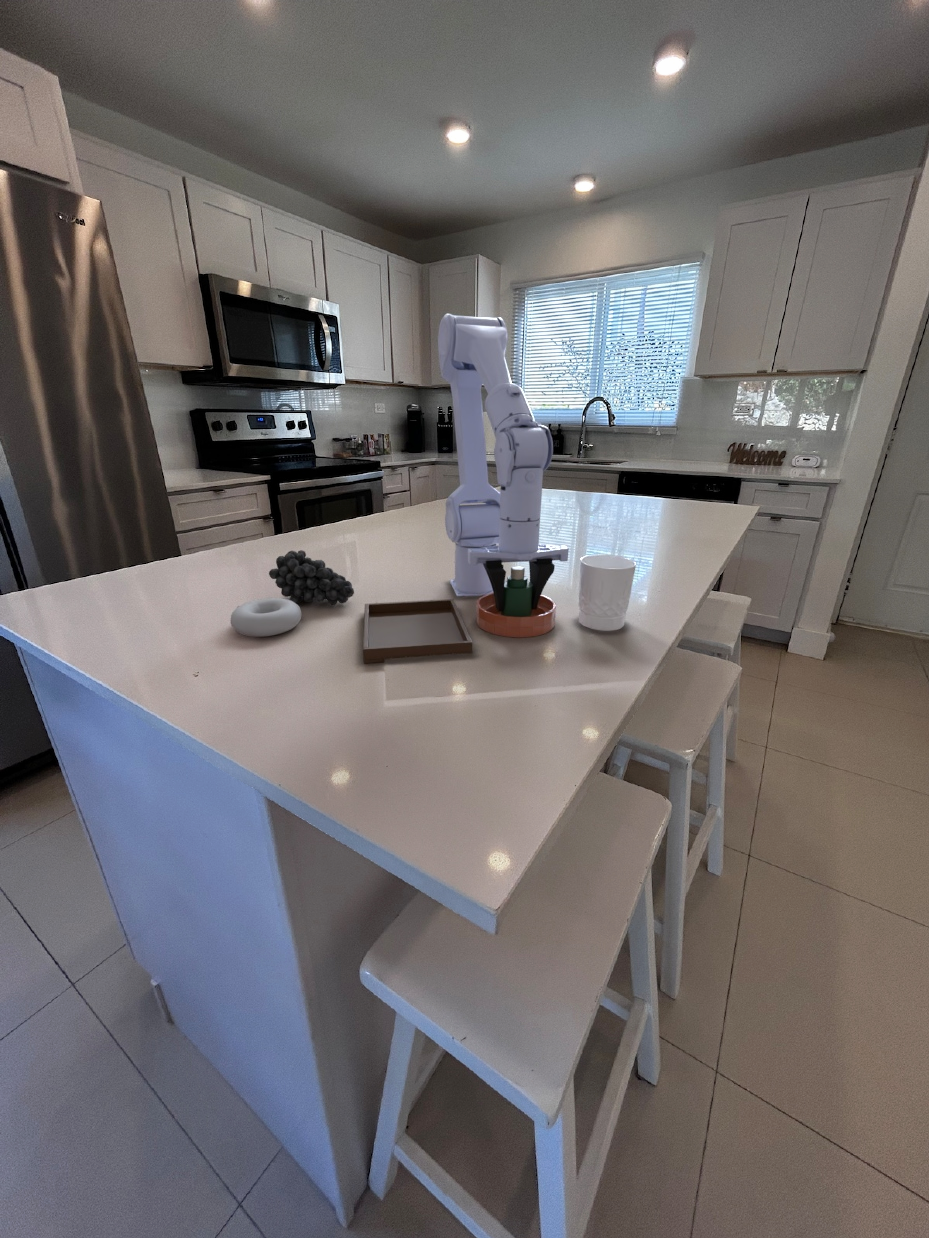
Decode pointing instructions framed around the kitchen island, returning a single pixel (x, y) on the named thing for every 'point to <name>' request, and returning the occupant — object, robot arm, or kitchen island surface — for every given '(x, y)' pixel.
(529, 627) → the bowl
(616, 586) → the white cup
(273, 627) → the donut
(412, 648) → the tray
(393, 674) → the kitchen island surface
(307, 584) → the fruit
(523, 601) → the bottle
